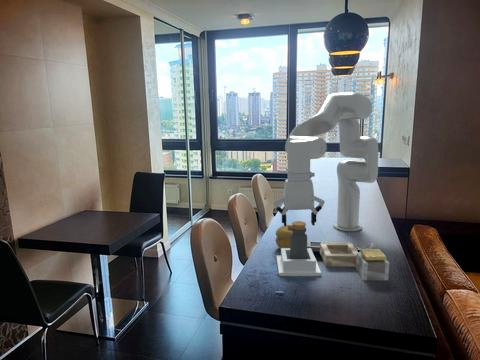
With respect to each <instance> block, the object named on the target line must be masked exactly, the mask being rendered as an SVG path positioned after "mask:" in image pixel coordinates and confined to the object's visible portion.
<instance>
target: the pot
mask: <svg viewBox="0 0 480 360" xmlns="http://www.w3.org/2000/svg"><path fill="white" fill-rule="evenodd" d="M292 227H293V225H292V224H286V226H284V225H281V226H279V228H278V229H276V231H275V236H276V238H275V243H276V245H277V246H278V248H279V249H280V250H281V248H290V235H291V234H292V233H293V232H292V230H291V229H292Z"/></svg>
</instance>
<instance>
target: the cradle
mask: <svg viewBox="0 0 480 360" xmlns="http://www.w3.org/2000/svg"><path fill="white" fill-rule="evenodd" d="M276 264H277V270H278V277H321V276H322V271H321V269H320V266H319V264H318V261H317V258H316V257H315V255H314V252H313V249H312V248H311V247H307V259H290V248H281V249H280V255H278V254H277V255H276Z"/></svg>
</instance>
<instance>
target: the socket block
mask: <svg viewBox="0 0 480 360" xmlns="http://www.w3.org/2000/svg"><path fill="white" fill-rule="evenodd" d="M353 245H354V244H353V243H352V242H350V243H348V242H320V243H319V254H320V256H321V259H322V261H323V264H324V265H325V267H326V268H327V267H329V268H330V267H331V268H333V267H334V268H335V267H336V268H340V267H341V268H342V267H346V268H347V267H349V268H350V267H354V268H355V270H356V271H357V273H358V274H359V276H360V277H361V279H362V281H389V275H390V274H389V273H390V262H389V261H388V260H387V259H386V260H383V262H367V261H366V260H365V259H364V257H363V255H362V254H361V253H358V251H357V250H356V248H357V247H356V248H355V247H354V246H355V245H354V246H353Z"/></svg>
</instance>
